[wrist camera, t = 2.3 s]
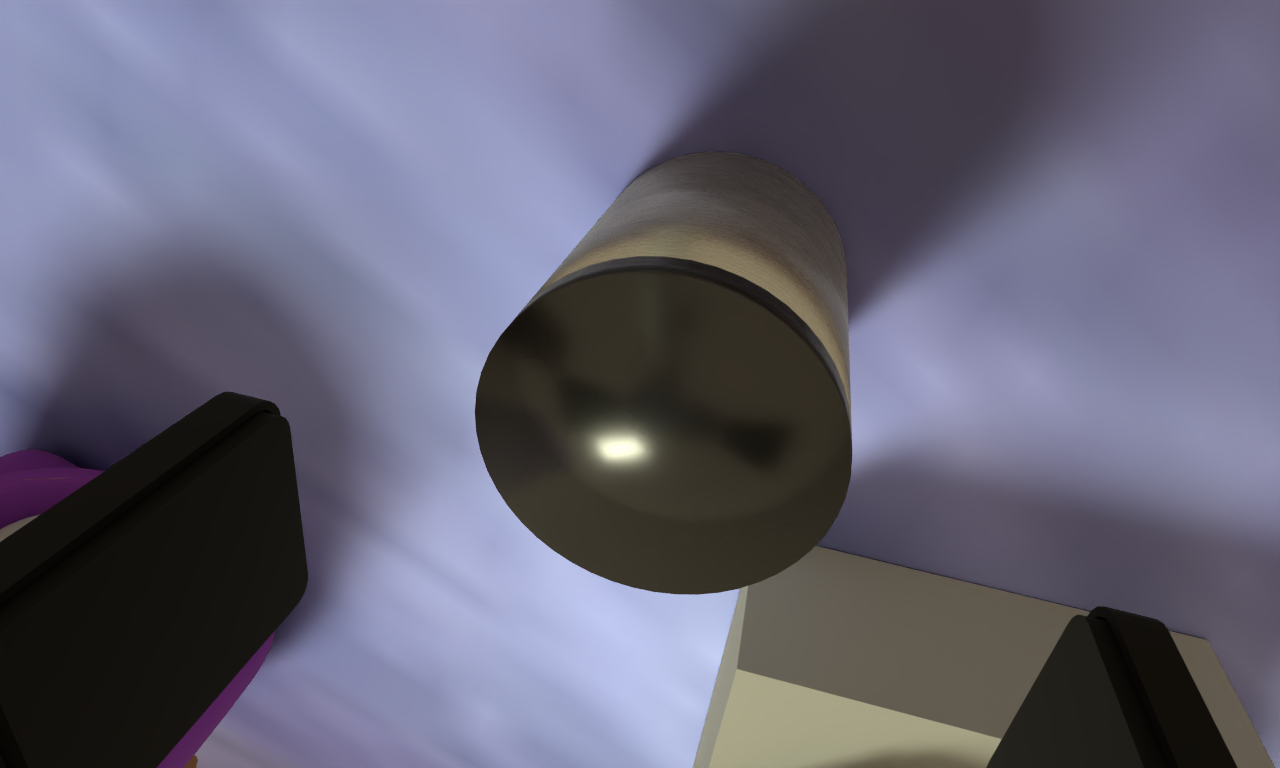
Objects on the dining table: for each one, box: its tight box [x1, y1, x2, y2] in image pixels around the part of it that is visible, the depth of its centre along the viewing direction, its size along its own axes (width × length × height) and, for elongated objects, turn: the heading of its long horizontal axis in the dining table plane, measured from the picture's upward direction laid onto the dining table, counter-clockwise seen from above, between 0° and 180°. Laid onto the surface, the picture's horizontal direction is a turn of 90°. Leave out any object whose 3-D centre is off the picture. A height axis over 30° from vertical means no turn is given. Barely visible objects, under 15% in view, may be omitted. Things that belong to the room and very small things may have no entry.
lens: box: [475, 151, 852, 594], centre depth 13 cm, size 5×5×6 cm
